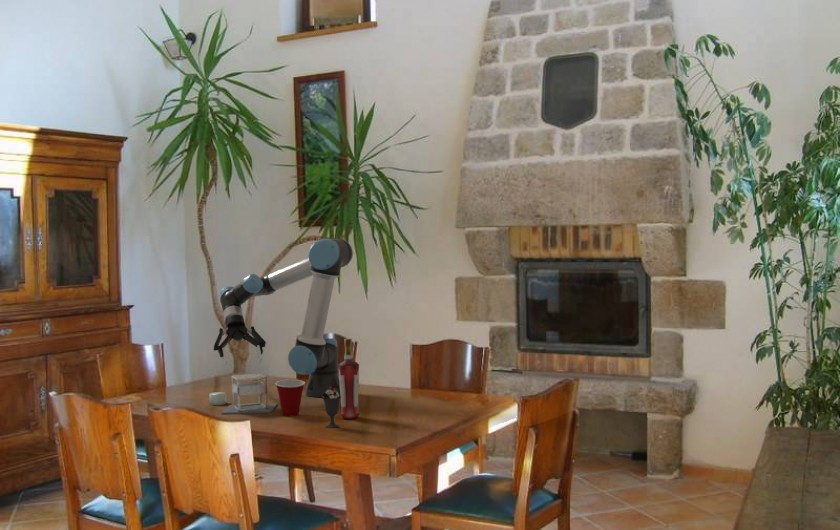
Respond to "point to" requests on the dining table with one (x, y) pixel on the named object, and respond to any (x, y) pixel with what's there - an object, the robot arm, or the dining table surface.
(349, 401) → the liquor
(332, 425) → the sundae
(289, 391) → the plastic cup
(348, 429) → the dining table surface
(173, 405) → the dining table surface
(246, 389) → the clear glass cube
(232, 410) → the mat
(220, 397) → the soap bar
